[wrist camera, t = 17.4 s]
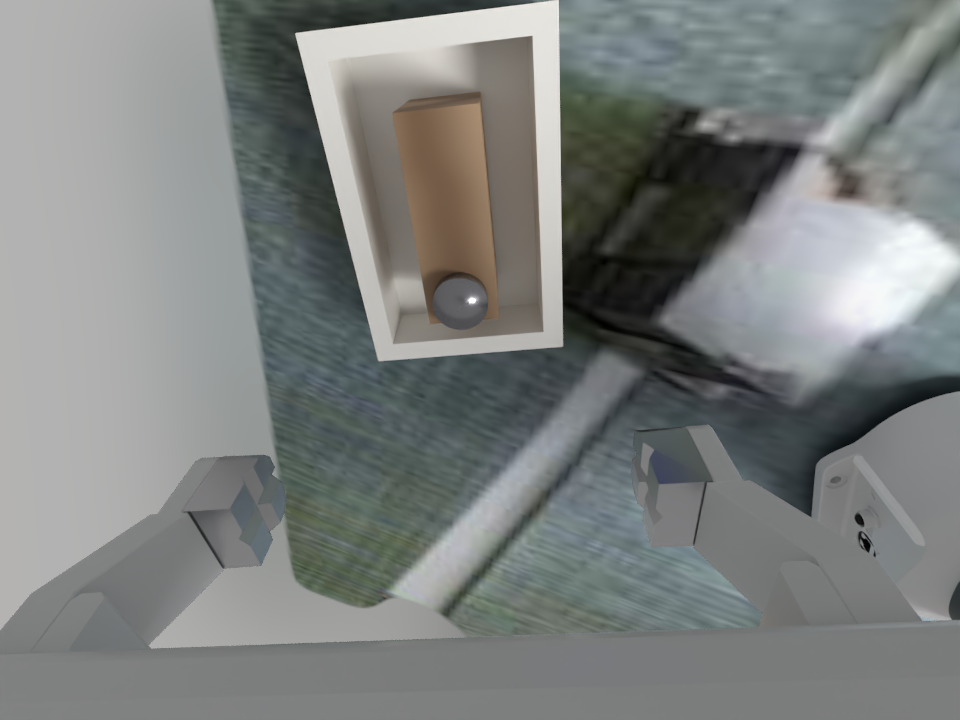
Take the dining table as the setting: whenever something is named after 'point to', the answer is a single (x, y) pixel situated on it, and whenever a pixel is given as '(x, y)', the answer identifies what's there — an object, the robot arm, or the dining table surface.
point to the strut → (450, 206)
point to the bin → (510, 159)
